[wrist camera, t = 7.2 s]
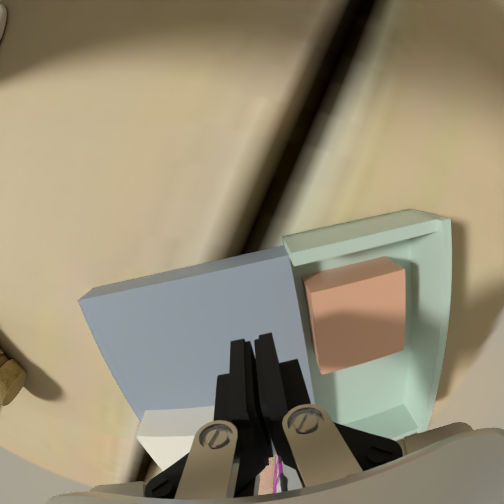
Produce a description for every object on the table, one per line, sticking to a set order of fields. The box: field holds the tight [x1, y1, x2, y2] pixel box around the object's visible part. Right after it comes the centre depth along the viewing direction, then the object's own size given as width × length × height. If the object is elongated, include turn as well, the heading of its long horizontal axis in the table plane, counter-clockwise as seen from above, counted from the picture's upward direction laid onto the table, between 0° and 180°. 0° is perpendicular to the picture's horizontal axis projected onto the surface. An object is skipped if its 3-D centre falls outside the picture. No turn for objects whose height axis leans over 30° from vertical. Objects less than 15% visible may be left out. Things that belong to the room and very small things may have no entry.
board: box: [78, 246, 315, 455], centre depth 17 cm, size 15×12×2 cm
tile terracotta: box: [301, 256, 406, 375], centre depth 15 cm, size 5×5×2 cm
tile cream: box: [136, 406, 215, 471], centre depth 15 cm, size 5×5×2 cm
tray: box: [282, 209, 452, 441], centre depth 15 cm, size 16×8×4 cm, turn 13°
